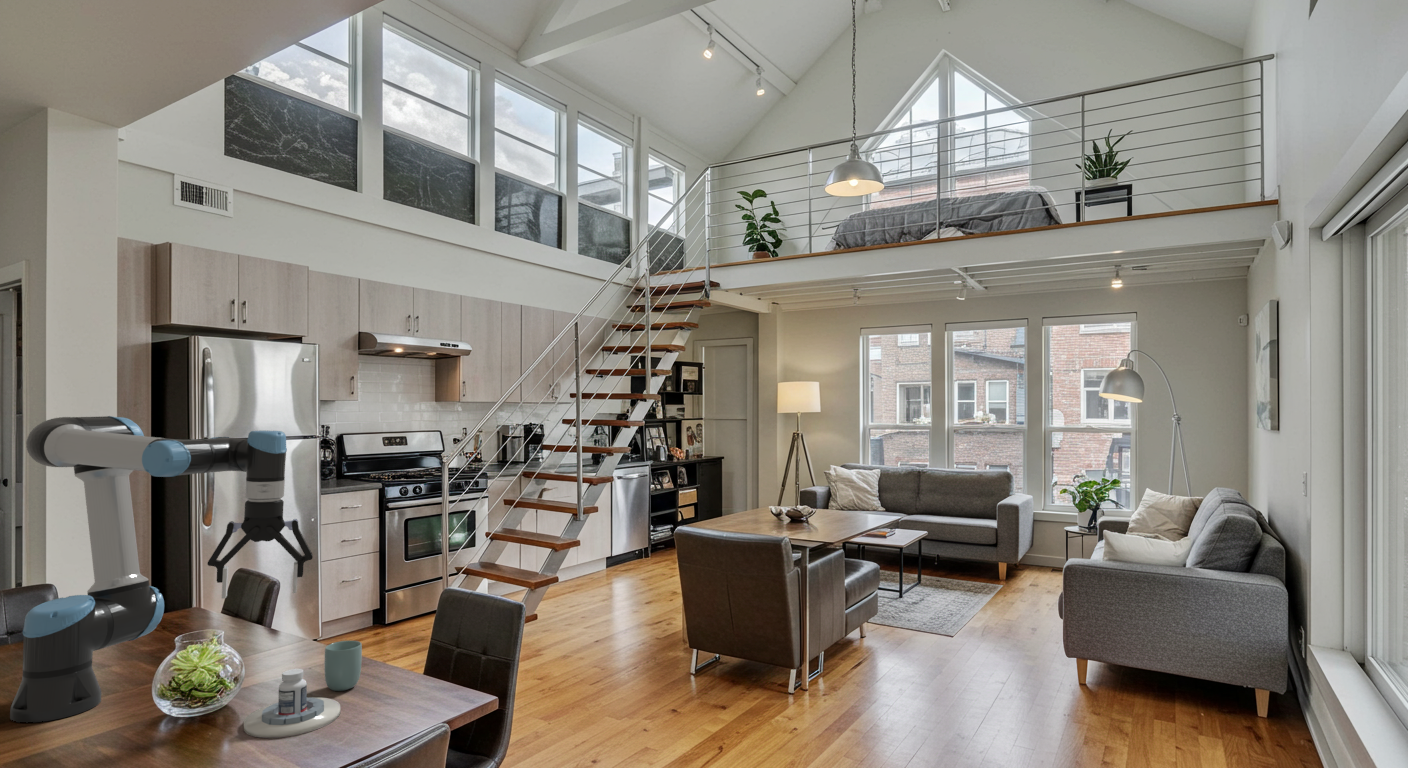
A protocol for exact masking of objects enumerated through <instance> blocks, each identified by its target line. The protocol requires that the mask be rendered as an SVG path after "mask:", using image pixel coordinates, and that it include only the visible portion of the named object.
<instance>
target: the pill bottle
mask: <svg viewBox="0 0 1408 768" xmlns="http://www.w3.org/2000/svg"><path fill="white" fill-rule="evenodd" d="M281 681H282V682H281V683H280V684H279V686H278V702H279V703H278V702H277V703H278V715H292V714H298V713H301V712H304V711H306V709H307V698H308V697H307V696H308V695H307V692H308V691H307V689H308V685H307V681H306V679H304V669H303V668H292V669H291V668H290V669H287V670H285V671H283V672H282V673H281Z"/></svg>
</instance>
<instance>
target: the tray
mask: <svg viewBox="0 0 1408 768" xmlns="http://www.w3.org/2000/svg"><path fill="white" fill-rule="evenodd" d="M278 703H279V701H278V702H275V703H272V704H269V705H265V706H263V707H261V708H259V709H257V710H255V711H253V712H251V713H250V714H249V715H247V717H246V718H244V721H243V731H244V733H245V734H247V735H248V736H251V737H255V738H260V739H275V738H276V739H278V738H279V739H280V738H287V737H293V736H298V735H304V734H306V733H310V732H313V731H316V730H318V729H322V728H324V727H326V726H328V725H329V724H331V723H333V722H334V721H336V720H337V719H338V718H339V717H340V714H341V704H340V702H338V701H337V700H335V699H333V698H327V697H316V696H315V697H312V696H311V697H307V709H306V711H304V712H301V713H298V714H292V715H278Z"/></svg>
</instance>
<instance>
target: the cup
mask: <svg viewBox="0 0 1408 768" xmlns="http://www.w3.org/2000/svg"><path fill="white" fill-rule="evenodd" d="M362 646H363V645H362V642H361V641H359V640H341V641H335V642H332V643H329V644H327V645H326V647H325V648H324V659H323V661H324V662H323V664H324V668H323V669H324V679H325V680H324V681H325V684H326V686H327V688H329V689H330V690H331V691H333V692H334V691H335V692H342V691H347V690H350V689H352V688H354V687H355V686H356V685H357V684H358V683H359V680H360V677H361V674H362V673H361V671H362V661H363V660H362V659H363V657H362V656H363V647H362Z"/></svg>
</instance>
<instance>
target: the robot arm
mask: <svg viewBox="0 0 1408 768" xmlns="http://www.w3.org/2000/svg"><path fill="white" fill-rule="evenodd" d="M25 444H26V445H25V446H26V447H25V448H26V451H27V453H28V455H29V456H30V458H31V459H32V460H33V461H35V462H36V463H38V464H40V465H43V466H46V467H50V468H73V471H74V477H76V478H78V479H79V480H80V481H82V482H83V485H84V487H83V488H84V494H85V495H84V496H85V505H86V513H87V514H86V515H87V523H88V531H89V533H88V534H89V541H90V549H91V551H90V552H91V560H92V569H93V579H94V582H93V584H92V585H91V586H90V587H89V589H87V591H86V592H87V594H75V595H69V596H66V597H59V598H55V599H51V600H48V601H45V602H43V603H40V604H38V605H36V606H34V607H32V608H31V609H30V610H29V611H27V613H26V615H25V617H24V618H25V619H24V623H23V629H22V635H23V646H22V647H23V650H22V679H21V682H20V684H19V687H18V690H17V691H16V694H15V696H14V698H13V701H12V702H11V703H12V704H10V705H11V706H10V708H9V709H10V710H9V711H10V712H9V719H10V720H11V721H12V720H13V721H12V722H14V721H16V722H15V723H20V722H26V724H29V723H28V722H33V723H41V722H42V721H43V722H49V721H55V720H60V719H64V718H69V717H71V716H75V715H79V714H81V713H84V712H86V711H88V710H89V711H90V710H91V709H93V708H95V707H97V706H98V705H99V704H100V703H101V702H102V689H101V686H100V683H99V681H98V679H97V676H96V674H95V672H94V669H93V655H94V653H93V652H94V651H95V652H96V651H98V650H102V649H104V648H105V649H106V648H108V647H111V646H116V645H118V644H122V643H125V642H131V641H135V640H137V639H138V638H141V637H144V636H146V635H148V634H150V633H151V632H153V631H154V630H155V629H156V628H157V627H158V625H159V624H160V623H161V621H162V618H163V616H164V612H165V600H164V596H163V594H162V593H161V592H160V589H158V587H154V586H152V585H150V580H149V578H148V577H146V576H144V575H143V574H142V573H141V571H140V561H139V553H138V545H137V534H136V528H135V527H136V526H135V519H134V509H133V501H132V500H133V499H132V492H131V483H130V481H131V480H130V475H131V474H132V473H133V472H134V471H138V472H147V473H148V474H149V475H150V476H152V477H157V478H158V477H159V478H160V477H161V478H162V477H163V478H170V477H176V476H177V477H178V476H186V475H196V474H209V473H220V472H243V473H246V475H245V476H246V478H245V493H244V495H245V496H244V498H245V499H247V500H246V501H245V503H244V515H243V516H244V517H243V521H242V522H235V521H233V520H230V521H229V522H228V523H227V525H226V530H225V534H224V535H223V537H222V538H221V540H220V542H219V543H218V545H217V546H216V548H215V550H214V551H213V553H212V555H211V556H210V558H209V560H208V561H207V566H209V567H215V568H216V583H219V584H221V583H222V584H221V585H222V586H221V599H222V600H223V599H226V598H227V597H228V583H229V565H227V563H229V561H230V560H232V558H233V557H234V556H235V555H236V554H237V553H238V552H239V551H240V550H241V549H242V548H244V546H245V545H246V544H248V542H250V541H252V542H254V543H259V542H271V541H274V540H275V541H276V542H277V543H278V544H279V545H281V547H282V548H283V549H284V550H285V551H286V552H287V553H288V554H289V555H290V556H291V557H292V558H293V559H294V560H295V561H294V563H293V575H292V576H293V577H292V578H293V579H292V594H297V592H298V591H297V590H298V588H297V587H298V578H302V577H303V575H304V563H306V562H307V561H311V560H312V559H313V556H314V555H313V552H312V551H311V549H310V547H309V545H308V542H307V541H306V539H305V538H304V535H303V534H302V532H301V530H300V527H299V526H300V525H299V520H298V519H297V518H294V519H292V520H284V503H285V502H284V500H283V499H282V498H284V497H285V481H286V480H285V479H286V478H285V477H286V476H285V473H286V472H285V471H286V459H287V458H286V457H287V451H288V449H287V448H288V447H287V435H286V434H285V432H283V431H282V430H251V431H250V432H248V437H247V438H240V437H229V436H218V437H217V436H216V437H215V436H214V437H210V438H198V439H176V438H175V439H174V438H166V437H165V438H164V437H157V436H156V437H155V436H145V435H144V432H143V430H142V429H141V427H140V426H139V425H138V424H137V423H136V422H134V421H133V420H132V419H130V418H127V417H122V416H121V417H120V416H113V415H112V416H111V415H106V416H78V417H77V416H72V417H71V416H62V417H54V418H50V419H46V420H45V421H42V422H40V423H39V424H37V425H36V426H35V427H34V428H32V429H31V431H30V432H29V433H28V436H27V439H26V441H25ZM285 527H287V528H288V530H289V531H292V533H293V535H294V537H295V539H296V542H297V543H298V545H299V546H300V549H301V551H302V552H303V555H302V554H301V553H300V552H299V551H298V549H296V548H295V547H294V545H292V543H291V542H289V541H288V539H286V537H285V536H284V535H283V534H282V533H281V532H282V531H283V530H284V528H285ZM239 529H241V530H242V531H243V533H245V534H244V536H243V537H242V538H241V539H240V540H239V541H238V542H237V544H235V545H234V546H233V547H232V548H231V549H230V550H229V551H228V552H227V553H226V555H224V556H223V557H222V558H221V560H219V559H218V558H219V557H220V555H221V553H222V552H223V550H224V548H225V547H226V545H227V543H228V542H229V540H230V539H231V536H233V533H234V534H235V533H236V532H238V530H239Z"/></svg>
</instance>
